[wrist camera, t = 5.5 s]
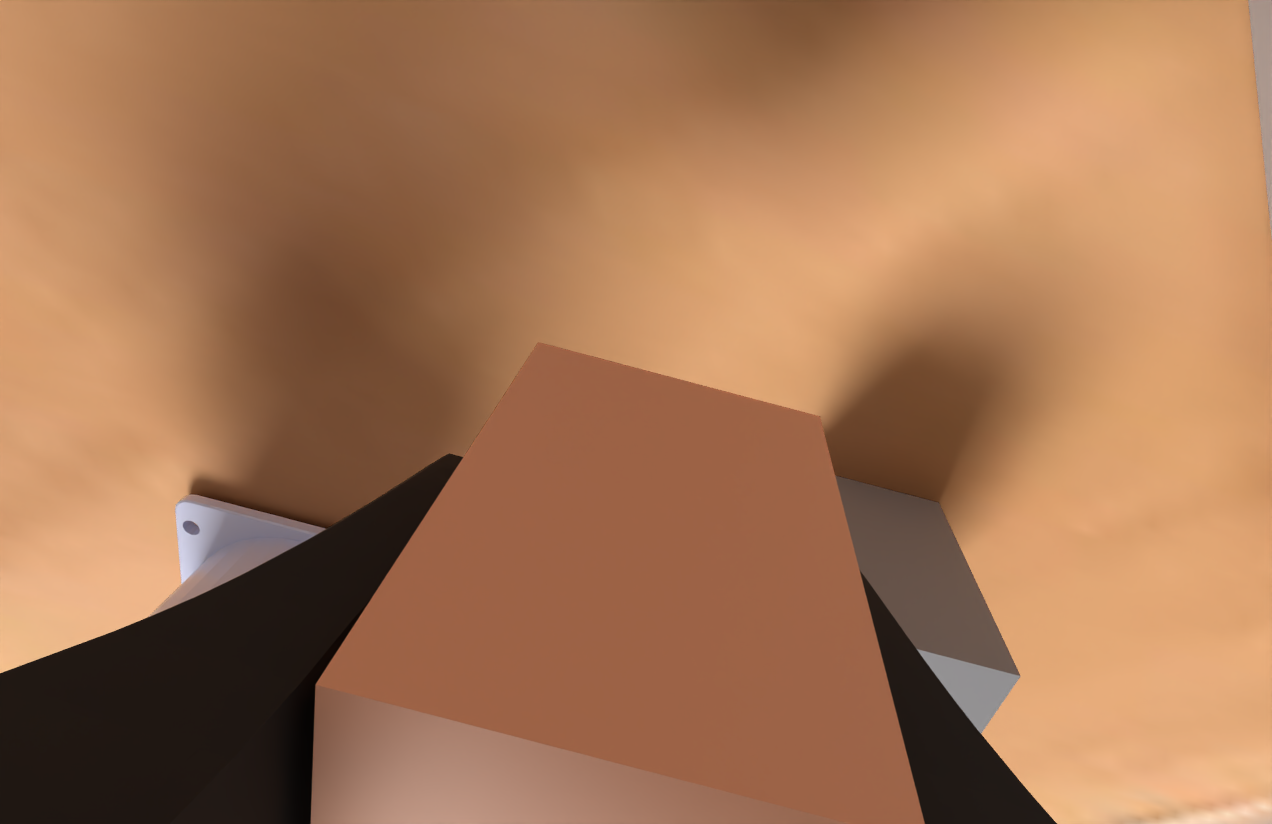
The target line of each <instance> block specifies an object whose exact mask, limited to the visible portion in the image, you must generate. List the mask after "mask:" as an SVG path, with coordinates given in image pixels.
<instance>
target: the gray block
mask: <svg viewBox="0 0 1272 824" xmlns="http://www.w3.org/2000/svg"><path fill="white" fill-rule="evenodd" d="M835 477H836V481H837V485H838V489H839V492H840V496H841V500H842V504H843V508H844V512H845V516H846V520H847V524H848V527H849V531H850V535H851V539H852V543H853V547H854V551H855V555H856V558H857V562H858V566H859V570H860V571H861V572H862V574H863V575H864V576H865V578H866V579H867V580H868V582H869V583H870V585H871V586H872V587H873V589H874V590H875V592H876V593H877V594H878V596H879V597H880V599H881V600H882V601H883V603H884V604H885V606H886V607H887V608H888V610H889V611H890V613H891V614H892V615H893V617H894V618H895V620H896V621H897V622H898V624H899V625H900V627H901V628H902V629H903V631H904V632H905V634H906V635H907V636H908V638H909V639H910V641H911V642H912V643H913V645H914V646H915V648H916V649H917V650H918V652H919V653H920V654H921V656H922V657H923V659H924V660H925V661H926V663H927V664H928V665H929V667H930V668H931V669H932V671H933V672H934V674H935V675H936V676H937V678H938V679H939V680H940V682H941V683H942V684H943V686H944V687H945V688H946V690H947V691H948V692H949V694H950V695H951V696H952V697H953V699H954V700H955V701H956V703H957V704H958V705H959V707H960V708H961V709H962V710H963V712H964V713H965V714H966V716H967V717H968V718H969V719H970V721H971V722H972V723H973V725H974V726H975V727H976V728H977V730H978V731H979V732H980V733H982V731H983V730H984V729H985V727H986V726H987V724H988V723H989V721H990V720H991V718H992V717H993V716H994V714H995V713H996V711H997V710H998V708H999V707H1000V705H1001V704H1002V702H1003V701H1004V700H1005V698H1006V697H1007V695H1008V694H1009V692H1010V691H1011V689H1012V688H1013V686H1014V685H1015V684H1016V682H1017V681H1018V679H1019V678H1020V674H1019V672H1018V670H1017V668H1016V665H1015V663H1014V661H1013V659H1012V657H1011V655H1010V653H1009V651H1008V648H1007V646H1006V644H1005V642H1004V640H1003V638H1002V636H1001V634H1000V631H999V629H998V627H997V625H996V623H995V621H994V619H993V617H992V614H991V612H990V610H989V608H988V606H987V604H986V602H985V600H984V597H983V595H982V593H981V591H980V589H979V587H978V585H977V583H976V581H975V578H974V576H973V574H972V572H971V570H970V568H969V566H968V564H967V561H966V559H965V557H964V555H963V553H962V551H961V549H960V547H959V544H958V542H957V540H956V538H955V536H954V534H953V532H952V530H951V527H950V525H949V523H948V521H947V519H946V517H945V515H944V513H943V510H942V508H941V506H940V504H939V503H938V502H935V501H931V500H927V499H923V498H919V497H916V496H912V495H908V494H904V493H900V492H896V491H893V490H889V489H885V488H881V487H877V486H874V485H870V484H866V483H862V482H858V481H855V480H851V479H847V478H843V477H839V476H836V475H835Z"/></svg>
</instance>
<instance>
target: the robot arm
mask: <svg viewBox="0 0 1272 824" xmlns="http://www.w3.org/2000/svg"><path fill="white" fill-rule="evenodd" d="M462 459H463V457H460V456H456V455H453V454H448V455H446V456H444V457H442V458H440V459H439V460H437V461H435V462H434V463H432V464H430V465H429V466H427V467H426V468H424V469H423V470H421V471H419V472H418V473H416V474H415V475H413V476H412V477H410V478H409V479H407V480H406V481H404V482H402V483H401V484H399V485H398V486H396V487H395V488H393V489H391V490H390V491H388V492H387V493H385V494H383V495H382V496H380V497H379V498H377V499H375V500H374V501H372V502H371V503H369V504H367V505H366V506H364V507H362V508H361V509H359V510H357V511H356V512H354V513H352V514H351V515H349V516H347V517H346V518H344V519H342V520H340V521H339V522H337V523H335V524H334V525H332V526H330V527H329V528H327V529H326V528H322V527H318V526H314V525H310V524H306V523H303V522H299V521H295V520H291V519H287V518H284V517H280V516H276V515H272V514H268V513H264V512H261V511H257V510H253V509H249V508H245V507H241V506H238V505H234V504H230V503H226V502H222V501H219V500H215V499H211V498H207V497H203V496H199V495H193V494H190V495H187V496H185V497H184V498H183V499H181V500H180V501H179V502H178V503H177V504H176V508H175V513H176V525H177V537H178V549H179V560H180V572H181V585H180V586H179V587H178V588H177V589H176V590H175V591H174V592H173V593H172V594H171V595H170V596H169V597H168V598H167V599H166V600H165V601H164V602H163V603H162V604H161V605H160V606H159V607H158V608H157V609H156V610H155V611H154V612H153V613H152V614H151V615H150V616H149V617H148V618H145V619H143V620H141V621H138V622H136V623H133V624H131V625H129V626H126V627H124V628H121V629H119V630H116V631H114V632H111V633H108V634H106V635H103V636H100V637H97V638H95V639H92V640H89V641H87V642H84V643H81V644H79V645H76V646H73V647H70V648H68V649H65V650H62V651H60V652H57V653H54V654H52V655H49V656H46V657H43V658H41V659H38V660H35V661H33V662H30V663H27V664H25V665H22V666H19V667H16V668H14V669H11V670H8V671H6V672H3V673H0V824H311V799H312V770H313V741H314V712H315V685H316V683H317V681H318V680H319V678H320V677H321V675H322V674H323V672H324V671H325V669H326V668H327V666H328V665H329V663H330V662H331V660H332V658H333V657H334V655H335V654H336V652H337V651H338V649H339V648H340V646H341V645H342V643H343V642H344V640H345V638H346V637H347V635H348V634H349V632H350V631H351V629H352V628H353V626H354V625H355V623H356V622H357V620H358V619H359V617H360V615H361V614H362V612H363V611H364V609H365V608H366V606H367V605H368V603H369V602H370V600H371V599H372V597H373V595H374V594H375V592H376V591H377V589H378V588H379V586H380V585H381V583H382V582H383V580H384V579H385V577H386V575H387V574H388V572H389V571H390V569H391V568H392V566H393V565H394V563H395V562H396V560H397V559H398V557H399V556H400V554H401V552H402V551H403V549H404V548H405V546H406V545H407V543H408V542H409V540H410V539H411V537H412V536H413V534H414V532H415V531H416V529H417V528H418V526H419V525H420V523H421V522H422V520H423V519H424V517H425V516H426V514H427V512H428V511H429V509H430V508H431V506H432V505H433V503H434V502H435V500H436V499H437V497H438V496H439V494H440V493H441V491H442V489H443V488H444V486H445V485H446V483H447V482H448V480H449V479H450V477H451V476H452V474H453V473H454V471H455V469H456V468H457V466H458V465H459V463H460V462H461V460H462ZM193 522H194V523H196V524H197V525H198V526H197V525H195V524H194V523H193ZM860 574H861V578H862V582H863V586H864V590H865V593H866V597H867V601H868V605H869V609H870V613H871V617H872V621H873V624H874V628H875V632H876V636H877V640H878V644H879V648H880V652H881V656H882V659H883V663H884V667H885V671H886V675H887V679H888V683H889V687H890V691H891V694H892V698H893V702H894V706H895V710H896V714H897V718H898V722H899V725H900V729H901V733H902V737H903V741H904V745H905V749H906V753H907V757H908V760H909V764H910V768H911V772H912V776H913V780H914V784H915V788H916V791H917V795H918V799H919V803H920V807H921V811H922V815H923V819H924V823H925V824H1057V823H1056V822H1055V821H1054V820H1053V819H1052V818H1051V817H1050V815H1049V814H1048V813H1047V812H1046V811H1045V810H1044V809H1043V807H1042V806H1041V805H1040V804H1039V803H1038V802H1037V801H1036V799H1035V798H1034V797H1033V796H1032V795H1031V794H1030V793H1029V791H1028V790H1027V789H1026V788H1025V787H1024V786H1023V784H1022V783H1021V782H1020V781H1019V780H1018V778H1017V777H1016V776H1015V775H1014V774H1013V772H1012V771H1011V770H1010V769H1009V767H1008V766H1007V765H1006V764H1005V763H1004V761H1003V760H1002V759H1001V758H1000V757H999V755H998V754H997V753H996V752H995V750H994V749H993V748H992V747H991V746H990V744H989V743H988V742H987V741H986V739H985V738H984V737H983V736H982V735H981V733H980V732H979V731H978V730H977V728H976V727H975V726H974V725H973V723H972V722H971V721H970V719H969V718H968V717H967V716H966V714H965V713H964V712H963V710H962V709H961V708H960V707H959V705H958V704H957V703H956V701H955V700H954V699H953V697H952V696H951V695H950V694H949V692H948V691H947V690H946V688H945V687H944V686H943V684H942V683H941V682H940V680H939V679H938V678H937V676H936V675H935V674H934V672H933V671H932V669H931V668H930V667H929V665H928V664H927V663H926V661H925V660H924V659H923V657H922V656H921V654H920V653H919V652H918V650H917V649H916V648H915V646H914V645H913V643H912V642H911V641H910V639H909V638H908V636H907V635H906V634H905V632H904V631H903V629H902V628H901V627H900V625H899V624H898V622H897V621H896V620H895V618H894V617H893V615H892V614H891V613H890V611H889V610H888V608H887V607H886V606H885V604H884V603H883V601H882V600H881V599H880V597H879V596H878V594H877V593H876V592H875V590H874V589H873V587H872V586H871V585H870V583H869V582H868V580H867V579H866V578H865V576H864V575H863V574H862V572H861V571H860Z"/></svg>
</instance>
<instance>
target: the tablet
mask: <svg viewBox="0 0 1272 824" xmlns="http://www.w3.org/2000/svg"><path fill="white" fill-rule="evenodd" d="M1248 3H1249V13H1250V23H1251V33H1252V43H1253V53H1254V64H1255V74H1256V84H1257V94H1258V104H1259V114H1260V125H1261V135H1262V145H1263V155H1264V165H1265V175H1266V186H1267V196H1268V206H1269V216H1270V226H1271V237H1272V0H1248Z"/></svg>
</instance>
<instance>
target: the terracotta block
mask: <svg viewBox="0 0 1272 824" xmlns="http://www.w3.org/2000/svg"><path fill="white" fill-rule="evenodd" d="M311 824H925V823H924V819H923V815H922V811H921V807H920V803H919V799H918V795H917V791H916V788H915V784H914V780H913V776H912V772H911V768H910V764H909V760H908V757H907V753H906V749H905V745H904V741H903V737H902V733H901V729H900V725H899V722H898V718H897V714H896V710H895V706H894V702H893V698H892V694H891V691H890V687H889V683H888V679H887V675H886V671H885V667H884V663H883V659H882V656H881V652H880V648H879V644H878V640H877V636H876V632H875V628H874V624H873V621H872V617H871V613H870V609H869V605H868V601H867V597H866V593H865V590H864V586H863V582H862V578H861V574H860V570H859V566H858V562H857V558H856V555H855V551H854V547H853V543H852V539H851V535H850V531H849V527H848V524H847V520H846V516H845V512H844V508H843V504H842V500H841V496H840V492H839V489H838V485H837V481H836V477H835V473H834V469H833V465H832V461H831V457H830V454H829V450H828V446H827V442H826V438H825V434H824V430H823V426H822V423H821V419H820V416H816V415H812V414H809V413H805V412H801V411H797V410H793V409H790V408H786V407H782V406H778V405H774V404H771V403H767V402H763V401H759V400H755V399H752V398H748V397H744V396H740V395H736V394H733V393H729V392H725V391H721V390H718V389H714V388H710V387H706V386H702V385H699V384H695V383H691V382H687V381H683V380H680V379H676V378H672V377H668V376H664V375H661V374H657V373H653V372H649V371H645V370H642V369H638V368H634V367H630V366H626V365H623V364H619V363H615V362H611V361H607V360H604V359H600V358H596V357H592V356H588V355H585V354H581V353H577V352H573V351H570V350H566V349H562V348H558V347H554V346H551V345H547V344H543V343H539V342H538V343H537V345H536V347H535V348H534V350H533V351H532V353H531V354H530V356H529V357H528V359H527V360H526V362H525V363H524V365H523V367H522V368H521V370H520V371H519V373H518V374H517V376H516V377H515V379H514V380H513V382H512V383H511V385H510V387H509V388H508V390H507V391H506V393H505V394H504V396H503V397H502V399H501V400H500V402H499V403H498V405H497V406H496V408H495V410H494V411H493V413H492V414H491V416H490V417H489V419H488V420H487V422H486V423H485V425H484V426H483V428H482V430H481V431H480V433H479V434H478V436H477V437H476V439H475V440H474V442H473V443H472V445H471V446H470V448H469V449H468V451H467V453H466V454H465V456H464V457H463V459H462V460H461V462H460V463H459V465H458V466H457V468H456V469H455V471H454V473H453V474H452V476H451V477H450V479H449V480H448V482H447V483H446V485H445V486H444V488H443V489H442V491H441V493H440V494H439V496H438V497H437V499H436V500H435V502H434V503H433V505H432V506H431V508H430V509H429V511H428V512H427V514H426V516H425V517H424V519H423V520H422V522H421V523H420V525H419V526H418V528H417V529H416V531H415V532H414V534H413V536H412V537H411V539H410V540H409V542H408V543H407V545H406V546H405V548H404V549H403V551H402V552H401V554H400V556H399V557H398V559H397V560H396V562H395V563H394V565H393V566H392V568H391V569H390V571H389V572H388V574H387V575H386V577H385V579H384V580H383V582H382V583H381V585H380V586H379V588H378V589H377V591H376V592H375V594H374V595H373V597H372V599H371V600H370V602H369V603H368V605H367V606H366V608H365V609H364V611H363V612H362V614H361V615H360V617H359V619H358V620H357V622H356V623H355V625H354V626H353V628H352V629H351V631H350V632H349V634H348V635H347V637H346V638H345V640H344V642H343V643H342V645H341V646H340V648H339V649H338V651H337V652H336V654H335V655H334V657H333V658H332V660H331V662H330V663H329V665H328V666H327V668H326V669H325V671H324V672H323V674H322V675H321V677H320V678H319V680H318V681H317V683H316V685H315V712H314V741H313V770H312V799H311Z"/></svg>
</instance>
